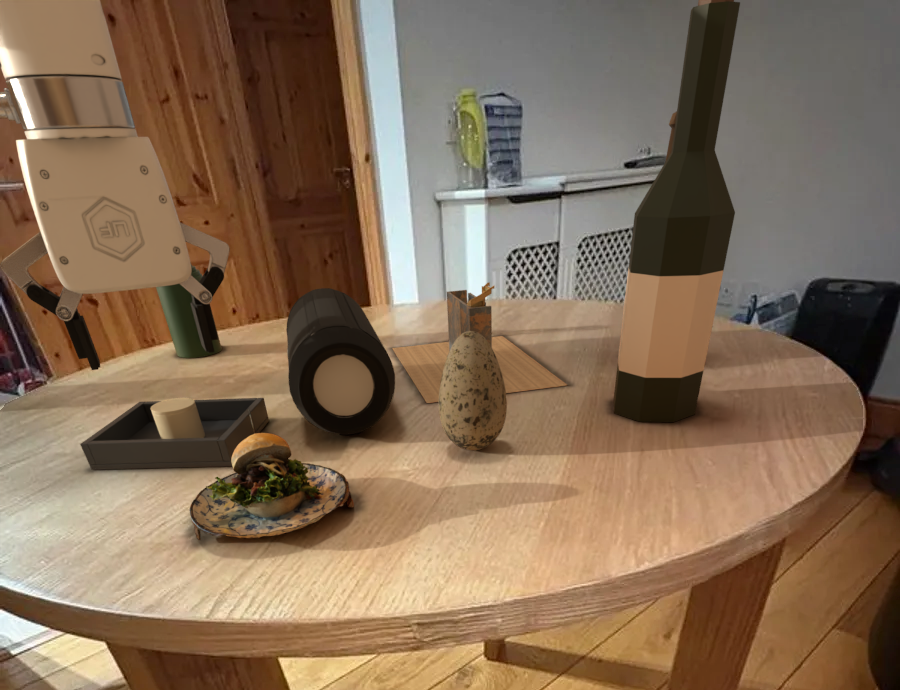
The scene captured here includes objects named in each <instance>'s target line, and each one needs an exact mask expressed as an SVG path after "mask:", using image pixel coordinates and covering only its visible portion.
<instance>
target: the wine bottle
mask: <svg viewBox="0 0 900 690" xmlns="http://www.w3.org/2000/svg"><path fill="white" fill-rule="evenodd" d="M740 7H741V2H740V1H735V0H698V1H697V5H696V6H693V7H692V8H691V9H690V15H689V21H688V22H689V23H688V28H687V37H686V44H685V51H684V58H683V65H682V71H681V78H680V86H679V92H678V101H677V107H676V108H677V109H676V111H677V115H676V122H675V129H674V136H673V144H672V151H671V154H670V155H669V157H668V159H667V160H666V159H665V161H666V162H665V161H664V164H663V165H662V166H661V169H660V170H659V172H658V173H657V175H656V177H655V178H654V180H653V182H652V184H651V185H650V187H649V189H648V190H647V192H646V194H645V196H644V197H643V199H642V201H641V202H640V204H639V205H638V207H637V209H636V211H635V212H634V217H633V225H632V235H631V243H630V251H629V261H628V269H627V278H626V285H625V286H626V287H625V295H624V303H623V304H624V305H623V313H622V320H621V321H622V322H621V330H620V339H619V347H618V357H617V366H616V374H615V382H614V390H613V400H612V405H613V413H614V414H615V415H618V416H621V417H625V418H626V419H630V420H633V421H636V422H638V423H675V422H678V421H681V420H683V419H686V418H688V417H692V416H694V415H696V410H697V405H698V400H699V395H700V391H701V384H702V379H703V376H704V370H705V365H706V360H707V355H708V350H709V345H710V341H711V335H712V331H713V327H714V326H713V325H714V319H715V315H716V311H717V306H718V299H719V295H720V290H721V285H722V280H723V275H724V270H725V265H726V259H727V255H728V249H729V245H730V241H731V236H732V235H731V234H732V229H733V224H734V220H735V214H736V210H735V208H734V205H733V202H732V199H731V196H730V192H729V189H728V185H727V184H726V180H725V177H724V174H723V171H722V168H721V165H720V162H719V159H718V156H717V153H716V150H715V149H716V145H717V139H718V134H719V133H718V132H719V127H720V123H721V116H722V111H723V105H724V104H723V103H724V99H725V93H726V87H727V81H728V77H729V70H730V64H731V59H732V53H733V46H734V41H735V35H736V29H737V24H738V18H739V12H740Z"/></svg>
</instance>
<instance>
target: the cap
mask: <svg viewBox="0 0 900 690" xmlns="http://www.w3.org/2000/svg"><path fill="white" fill-rule="evenodd" d="M194 400H195V399H193V398H190V397H173V398H169V399H165V400H160V401H161V402H158V403H156V404H154V405H153V406H151V411H152V414H153V417H154V420H155V423H156V426H157V428H158V431H159V434H160V437H161V439H180V438H204V437H205V433H204V430H203V426H202V423H201V420H200V417H199V413H198V410H197V407H196V404H195V401H194Z"/></svg>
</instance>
